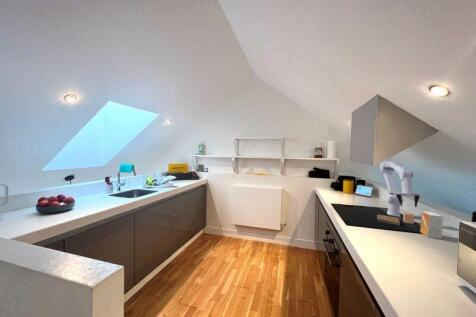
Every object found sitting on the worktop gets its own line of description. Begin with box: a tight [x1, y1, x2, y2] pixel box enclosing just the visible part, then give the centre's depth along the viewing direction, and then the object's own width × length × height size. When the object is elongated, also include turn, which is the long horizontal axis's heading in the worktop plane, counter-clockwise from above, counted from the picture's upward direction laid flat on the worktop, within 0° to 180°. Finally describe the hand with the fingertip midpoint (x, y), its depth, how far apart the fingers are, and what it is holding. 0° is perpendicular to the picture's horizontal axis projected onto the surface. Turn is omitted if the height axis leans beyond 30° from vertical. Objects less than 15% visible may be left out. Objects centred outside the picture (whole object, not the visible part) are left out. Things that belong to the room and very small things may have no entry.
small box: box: [420, 210, 444, 240], centre depth 119 cm, size 8×6×13 cm
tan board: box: [376, 214, 401, 226], centre depth 143 cm, size 12×12×2 cm
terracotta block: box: [402, 211, 415, 225], centre depth 142 cm, size 5×5×6 cm
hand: (408, 206), depth 141 cm, fingers open, 7 cm apart
